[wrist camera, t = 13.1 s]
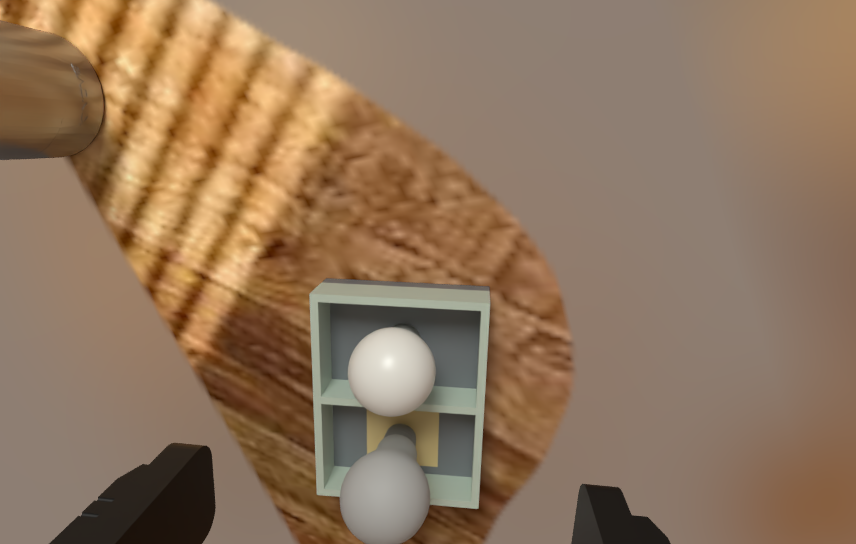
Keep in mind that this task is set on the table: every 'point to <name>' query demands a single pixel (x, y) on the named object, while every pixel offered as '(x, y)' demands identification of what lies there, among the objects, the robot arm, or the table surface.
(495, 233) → the table surface
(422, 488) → the lightbulb
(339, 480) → the tray
